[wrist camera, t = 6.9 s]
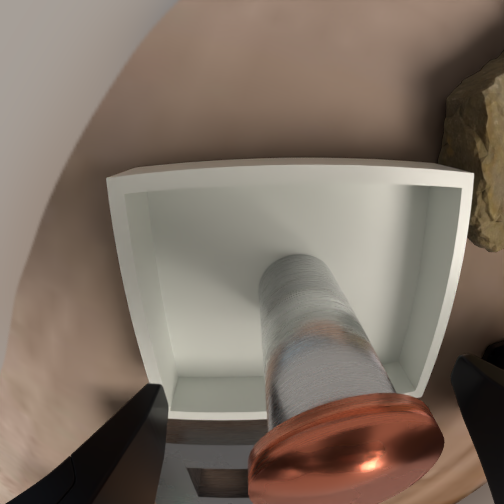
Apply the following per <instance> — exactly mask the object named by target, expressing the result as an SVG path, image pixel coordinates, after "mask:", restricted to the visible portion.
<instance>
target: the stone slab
mask: <svg viewBox="0 0 504 504" xmlns="http://www.w3.org/2000/svg"><path fill="white" fill-rule="evenodd" d="M438 164H440V165H444V166H448V167H452V168H456V169H460V170H464V171H467V172H471V173H474V182H473V194H472V203H471V212H470V220H469V227H468V233H467V238H469V240H470V241H471V242H472V243H473V244H474V245H476V246H478V247H481V248H485V249H486V250H487V251H488V252H498V251H499V250H501V249H504V51H503V52H502V54H501V55H500V56H499V57H498V58H497V59H493V60H490V61H489V62H488V63H487V64H486V65H485V66H483V68H482V69H481V71H479V72H477V73H475V74H474V75H472V76H470V77H468V78H466V79H465V80H463V81H462V83H461V84H460V85H459V86H458V87H456V88H455V89H454V91H453V92H452V93H451V94H450V95H449V96H448V97H447V103H446V118H445V122H444V135H443V140H442V149H441V152H440V155H439V158H438Z"/></svg>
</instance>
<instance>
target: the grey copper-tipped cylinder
mask: <svg viewBox="0 0 504 504" xmlns="http://www.w3.org/2000/svg"><path fill="white" fill-rule="evenodd" d="M258 297H259V311H260V325H261V339H262V353H263V367H264V381H265V396H266V410H267V424H268V433H266V434H265V435H264V436H263V437H262V438H261V439H260V440H259V441H258V442H257V443H256V444H255V445H254V447H253V449H252V450H251V452H250V455H249V458H248V495H249V498H250V500H251V501H252V503H253V504H378V503H380V502H383V501H385V500H387V499H389V498H391V497H393V496H395V495H397V494H399V493H400V492H402V491H404V490H405V489H407V488H408V487H410V486H411V485H413V484H414V483H415V482H417V481H418V480H419V479H420V478H422V477H423V476H424V475H425V474H426V473H427V472H428V471H429V470H430V469H431V468H432V467H433V465H434V464H435V463H436V462H437V460H438V458H439V457H440V455H441V453H442V451H443V447H444V437H443V434H442V432H441V430H440V428H439V427H438V425H437V423H436V421H435V419H434V417H433V415H432V414H431V412H430V410H429V408H428V407H427V406H426V404H425V403H424V402H422V401H421V400H419V399H418V398H415V397H413V396H410V395H405V394H400V393H396V391H395V389H394V387H393V385H392V383H391V381H390V379H389V377H388V375H387V373H386V371H385V369H384V367H383V365H382V363H381V361H380V359H379V358H378V356H377V354H376V352H375V350H374V348H373V346H372V344H371V342H370V340H369V339H368V337H367V335H366V333H365V331H364V329H363V327H362V326H361V324H360V322H359V320H358V318H357V316H356V315H355V313H354V311H353V309H352V307H351V305H350V304H349V302H348V300H347V298H346V297H345V295H344V293H343V291H342V289H341V288H340V286H339V284H338V282H337V281H336V279H335V277H334V275H333V274H332V272H331V270H330V269H329V267H328V266H327V265H326V264H325V263H324V262H323V261H322V260H320V259H318V258H316V257H314V256H311V255H307V254H292V255H287V256H285V257H282V258H280V259H278V260H276V261H275V262H273V263H272V264H271V265H270V266H269V267H268V268H267V269H266V270H265V272H264V273H263V275H262V277H261V279H260V282H259V286H258Z"/></svg>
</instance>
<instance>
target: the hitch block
mask: <svg viewBox="0 0 504 504" xmlns="http://www.w3.org/2000/svg"><path fill="white" fill-rule="evenodd" d="M266 433H268V424H267V419H258V420H186V419H168V422H167V433H166V445H165V455H164V460H163V465H162V470H161V475H160V480H159V484H158V489H157V494H156V499H155V502H156V504H253V503H252V501H251V500H250V498H249V495H248V458H249V455H250V452H251V450H252V449H253V447H254V445H255V444H256V443H257V442H258V441H259V440H260V439H261V438H262V437H263V436H264V435H265V434H266Z"/></svg>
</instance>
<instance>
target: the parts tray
mask: <svg viewBox="0 0 504 504" xmlns="http://www.w3.org/2000/svg"><path fill="white" fill-rule="evenodd" d="M106 181H107V189H108V197H109V205H110V212H111V219H112V225H113V232H114V238H115V243H116V249H117V255H118V260H119V265H120V270H121V275H122V280H123V285H124V289H125V294H126V298H127V303H128V307H129V311H130V315H131V319H132V323H133V327H134V331H135V335H136V339H137V342H138V346H139V349H140V353H141V357H142V360H143V363H144V367H145V370H146V373H147V377H148V380H149V383H155V384H161V385H162V386H163V388H164V391H165V394H166V398H167V401H168V406H169V412H168V419H186V420H258V419H267V410H266V396H265V381H264V367H263V353H262V339H261V325H260V311H259V297H258V286H259V282H260V279H261V277H262V275H263V273H264V272H265V270H266V269H267V268H268V267H269V266H270V265H271V264H272V263H273V262H275V261H276V260H278V259H280V258H282V257H285V256H287V255H292V254H307V255H311V256H314V257H316V258H318V259H320V260H322V261H323V262H324V263H325V264H326V265H327V266H328V267H329V269H330V270H331V272H332V274H333V275H334V277H335V279H336V281H337V282H338V284H339V286H340V288H341V289H342V291H343V293H344V295H345V297H346V298H347V300H348V302H349V304H350V305H351V307H352V309H353V311H354V313H355V315H356V316H357V318H358V320H359V322H360V324H361V326H362V327H363V329H364V331H365V333H366V335H367V337H368V339H369V340H370V342H371V344H372V346H373V348H374V350H375V352H376V354H377V356H378V358H379V359H380V361H381V363H382V365H383V367H384V369H385V371H386V373H387V375H388V377H389V379H390V381H391V383H392V385H393V387H394V389H395V391H396V393H400V394H405V395H410V396H413V397H415V398H418V397H422V395H423V393H424V390H425V388H426V385H427V383H428V380H429V378H430V375H431V372H432V370H433V367H434V364H435V361H436V358H437V355H438V352H439V349H440V346H441V343H442V340H443V337H444V334H445V330H446V327H447V324H448V320H449V317H450V313H451V309H452V306H453V302H454V298H455V294H456V290H457V285H458V281H459V276H460V272H461V267H462V262H463V257H464V251H465V246H466V240H467V233H468V227H469V220H470V212H471V203H472V194H473V182H474V173H471V172H467V171H464V170H460V169H456V168H452V167H448V166H444V165H440V164H436V163H427V162H414V161H400V160H383V159H360V158H255V159H232V160H214V161H199V162H186V163H175V164H164V165H154V166H144V167H136V168H133V169H130V170H127V171H124V172H121V173H119V174H116V175H113V176H110V177H107V178H106Z"/></svg>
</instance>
